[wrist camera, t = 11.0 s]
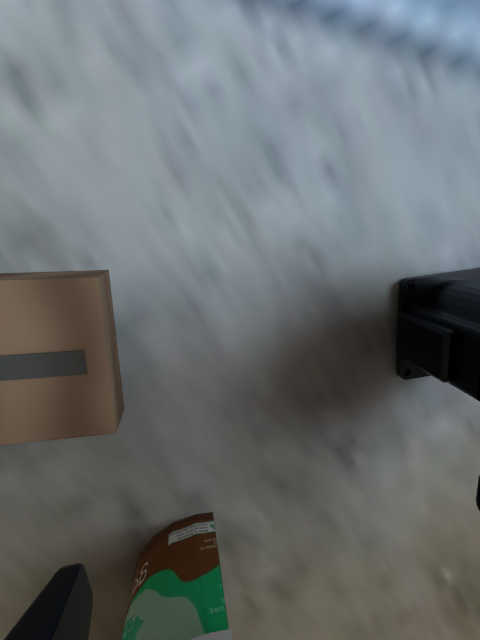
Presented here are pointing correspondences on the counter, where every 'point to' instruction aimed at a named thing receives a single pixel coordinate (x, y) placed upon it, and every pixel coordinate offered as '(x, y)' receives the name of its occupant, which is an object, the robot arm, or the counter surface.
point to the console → (58, 357)
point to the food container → (179, 586)
